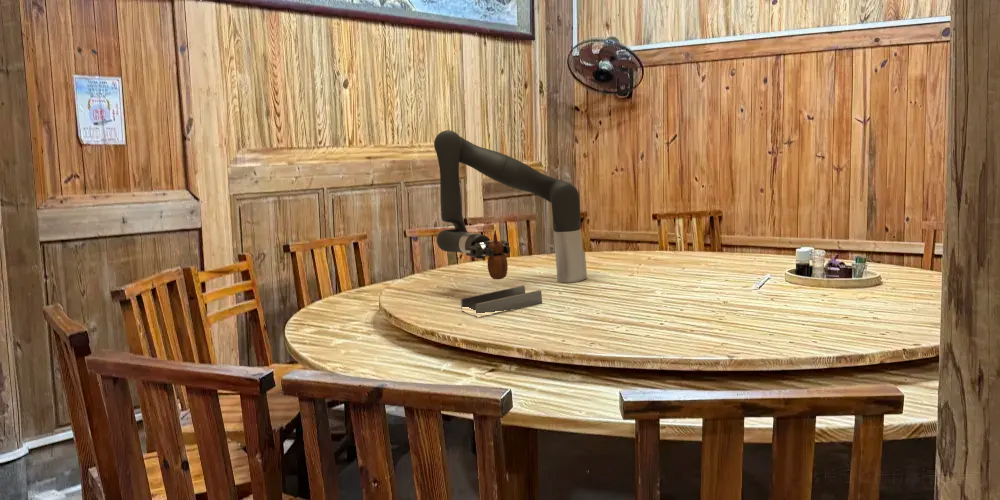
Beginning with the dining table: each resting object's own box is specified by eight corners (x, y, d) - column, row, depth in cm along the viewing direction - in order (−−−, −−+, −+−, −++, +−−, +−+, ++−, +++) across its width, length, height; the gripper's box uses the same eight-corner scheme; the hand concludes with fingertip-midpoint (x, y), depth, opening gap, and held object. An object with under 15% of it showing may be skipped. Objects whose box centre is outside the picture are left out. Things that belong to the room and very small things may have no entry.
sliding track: (524, 297, 265) (523, 285, 264) (542, 303, 255) (541, 290, 254) (461, 311, 255) (460, 298, 254) (478, 317, 245) (477, 304, 244)
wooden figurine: (506, 280, 250) (501, 230, 247) (487, 281, 251) (482, 231, 248) (510, 275, 256) (505, 226, 253) (491, 276, 257) (487, 227, 255)
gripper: (453, 237, 261) (478, 243, 246) (493, 230, 267) (520, 235, 252) (455, 260, 262) (480, 268, 247) (495, 253, 268) (522, 259, 254)
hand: (500, 251), depth 250 cm, fingers closed on wooden figurine, 4 cm apart
